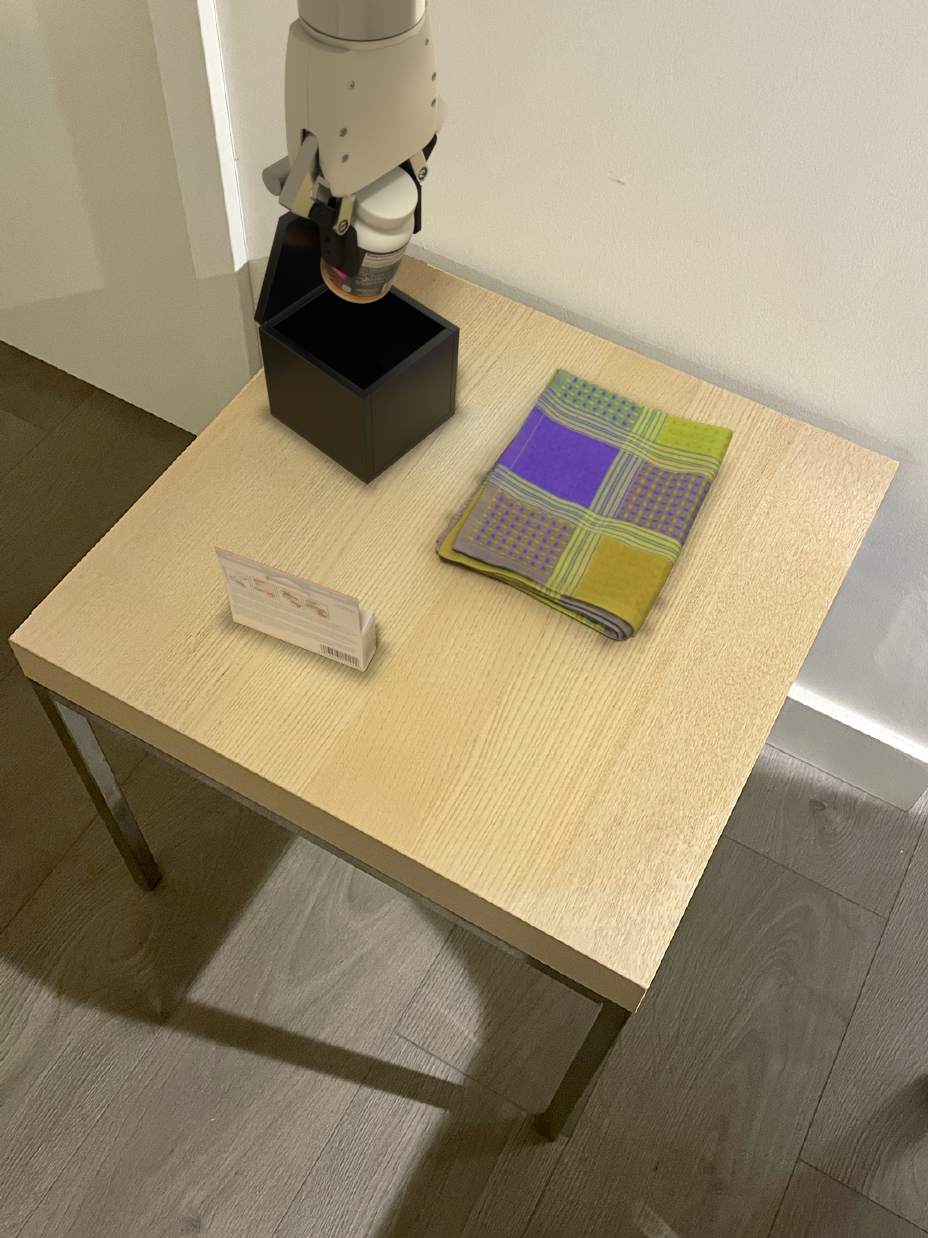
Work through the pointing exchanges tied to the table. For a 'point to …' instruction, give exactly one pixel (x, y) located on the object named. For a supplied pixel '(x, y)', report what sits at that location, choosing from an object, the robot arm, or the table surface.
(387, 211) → the pill bottle
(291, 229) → the black box lid
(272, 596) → the ink cartridge box
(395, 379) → the black open box
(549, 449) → the dish towel
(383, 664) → the table surface
